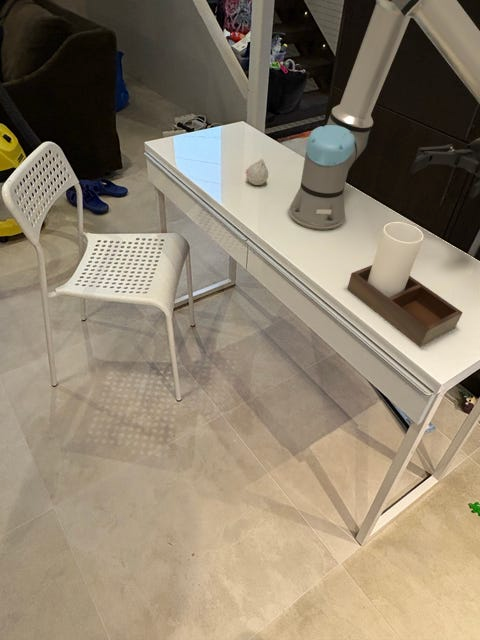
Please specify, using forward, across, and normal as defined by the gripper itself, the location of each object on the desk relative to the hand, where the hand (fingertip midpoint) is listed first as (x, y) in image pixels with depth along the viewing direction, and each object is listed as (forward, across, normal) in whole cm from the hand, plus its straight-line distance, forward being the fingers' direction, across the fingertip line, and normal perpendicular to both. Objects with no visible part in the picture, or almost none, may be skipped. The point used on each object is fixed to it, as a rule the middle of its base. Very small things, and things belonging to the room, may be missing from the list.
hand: (442, 179), depth 102 cm
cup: (+11, 0, -25) cm, 27 cm away
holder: (+12, -5, -25) cm, 29 cm away
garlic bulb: (-7, +56, -26) cm, 62 cm away
